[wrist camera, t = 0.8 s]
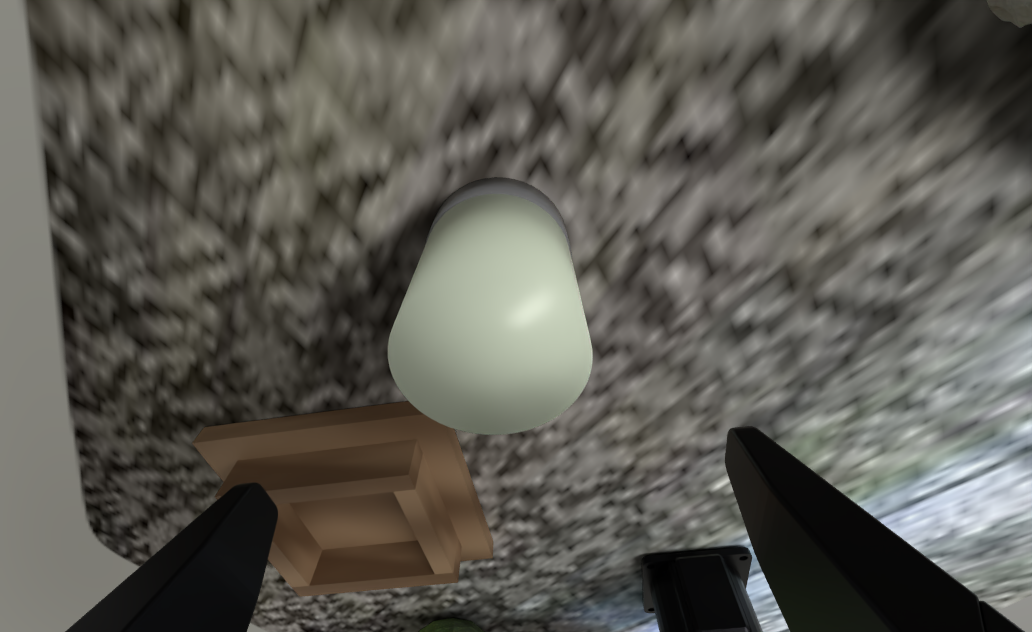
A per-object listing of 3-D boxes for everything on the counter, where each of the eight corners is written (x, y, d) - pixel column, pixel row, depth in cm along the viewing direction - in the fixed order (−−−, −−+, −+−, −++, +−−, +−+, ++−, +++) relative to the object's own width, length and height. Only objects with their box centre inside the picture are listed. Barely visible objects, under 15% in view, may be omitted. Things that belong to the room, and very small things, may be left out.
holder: (493, 541, 28) (490, 594, 25) (306, 559, 29) (286, 611, 26) (442, 396, 21) (432, 447, 19) (204, 427, 22) (164, 479, 20)
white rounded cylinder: (573, 293, 18) (601, 424, 12) (449, 312, 19) (419, 445, 13) (559, 165, 16) (585, 254, 10) (413, 190, 16) (354, 290, 10)
